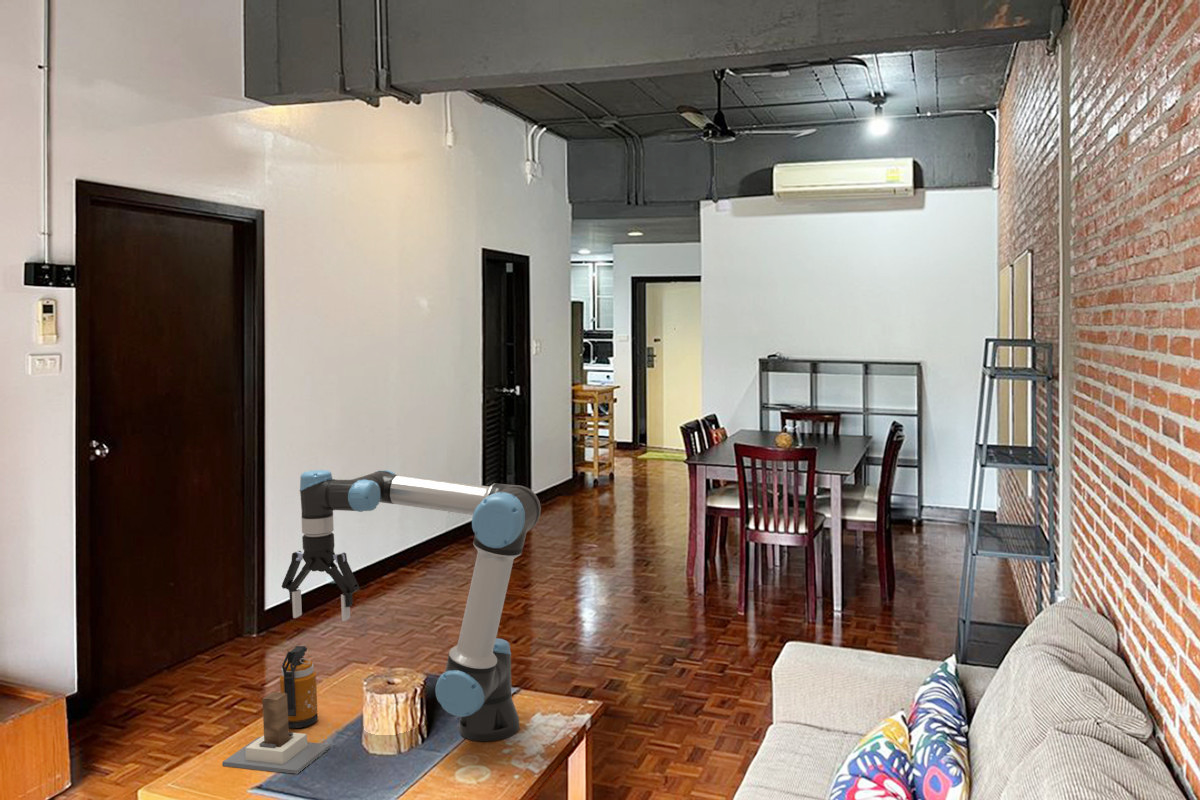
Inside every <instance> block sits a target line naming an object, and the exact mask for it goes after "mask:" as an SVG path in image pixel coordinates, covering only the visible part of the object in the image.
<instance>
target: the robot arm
mask: <svg viewBox="0 0 1200 800" xmlns="http://www.w3.org/2000/svg"><path fill="white" fill-rule="evenodd" d="M299 478H300V481H299V485H300V486H299V492H300V493H299V495H300V506H301V518H300V519H301V533H302V534H303V535H302V541H301V542H302V550H303V552H302V551H301V550H297V551H294V552H293V553H291V562H290V564H289V567H288V569H287V571H286V574H285V577H284V578H283V581H282V583H281V587H282V588H281V589H285V590H288V593H289V594H288V595H289V603H290V604H291V605H292V618H293V619H297V618H299V617H301V616H302V615H303V611H302V607H303V606H302V589H299V588H300V585H301V584H302V583H303V581H304V580H305V578H306V577H308V575H309V573H310V572H317V571H318V572H325V573H326V574H328V575H329V576H330V577H331V579H332V580H333V581H334V583H335V584H336V585H337V586H338V588H339V589H340V590H341V591H342V594H340V603H341V604H340V606H341V607H340V608H341V609H340V610H341V622H347V621H348V620H350V619H351V607H352V606H353V604H354V603H353V594H354V593H355V592H357V591H359V590H360V585H359V583H358V581H357V579H356V577H355V574H354V573H353V570H352V568H351V566H350V564H349V562H348V559H347V558H348V557H347V553H346V552H342V553H337V554H336V553H335V534H334V533H333V531H334V511H345V512H346V511H347V512H360V513H362V512H371V511H374V510H376V509H377V506H378V505H379V504H380V503H383V504H384V503H385V504H391V505H392V504H393V505H400V506H407V507H413V508H421V509H427V510H435V511H440V512H441V511H443V512H448V513H449V512H450V513H454V514H455V513H456V514H464V515H470V516H472V518H471V529H472V531H473V533H474V538H473V542H472V544H473V547H474V548H475V549H476V550H477V554H476V559H475V564H474V568H473V572H472V577H471V582H470V586H469V590H468V594H467V595H468V596H467V599H466V604H465V608H464V609H465V610H464V612H463V613H464V614H463V618H462V622H461V627H460V633H459V637H458V640H457V641H458V642H457V644H456V645H455V646H453V647H451V648H450V650H449V653H448V658H447V659H446V660H447V661H446V665H445V669H444V672H443V673H441V674H440V676H439V677H438V679H437V682H436V684H435V688H434V689H435V697H436V700H437V702H438V703H439V704H440V705H441V707H442V709H443V710H444V711H445V712H447V713H449V714H450V715H452V716H454V717H455V716H456V717H459V718H460V719H459V722H458V723H459V724H458V726H459V727H458V728H459V734H460V735H461V736H462V737H463V738H465V739H467V740H470V741H475V742H495V741H501V740H504V739H507V738H509V737H512V736H514V735H515V734H516V733H517V732H518V731H519V729H520V717H519V715H518V712H517V709H516V706H515V703H514V701H513V697H512V695H513V694H512V658H511V656H512V652H511V646H510V643H509V642H508V641H507V640H505V639H503V638H498V637H497V636H498V631H499V627H500V621H501V618H502V613H503V610H504V609H503V608H504V604H505V600H506V595H507V591H508V587H509V586H508V585H509V582H510V577H511V574H512V569H513V564H514V559H516V558H518V557H520V556H521V555H522V554H523V549H524V545H525V540H526V537H527V532H529V531H530V530H532V529H533V528H534V527H535V526H536V525H537V523H538V521H539V519H540V517H541V513H542V512H541V511H542V509H541V508H542V507H541V502H540V499H539V498H538V496H537V494H535V492H534V491H533V490H532V489H530V488H529V487H526V486H523V485H519V484H518V485H516V484H506V483H493V484H491V485H489V486H488V485H487V486H486V485H480V484H472V483H463V482H458V481H456V482H455V481H450V480H443V479H442V480H441V479H433V478H427V477H419V476H417V477H416V476H409V475H404V474H403V475H402V474H396V473H395V472H394V471H391V470H388V469H385V470H377V471H374V472H373V473H369V474H367V475H363V476H360V477H356V478H353V479H334V478H333V475H332V472H331V471H330V470H324V469H316V470H308V471H304V472H303V473H301V475H300V477H299ZM302 560H303V561H304V563H305V564H304V565H303V567H301V570H300V572H299V573H298V574H297V572H298V570H299V567H300V564H301V562H302ZM336 563H337V564H336ZM338 568H339V569H338ZM296 574H297V576H296ZM295 576H296V577H295Z"/></svg>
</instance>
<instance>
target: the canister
mask: <svg viewBox="0 0 1200 800" xmlns="http://www.w3.org/2000/svg"><path fill="white" fill-rule="evenodd" d="M307 651H308V647H306V646H305V645H296V646H294V648H293V649H292V650H290V651H287V653H286V655H285V658H284V660H283V661H282V665H281V675H280V677H279V689H280V690H279V691H280V692H279V693H287V704H288V727H289V728H292V729H298V728H299V729H300V728H304V727H305V728H306V727H308V726H310V725H312V724H314V723H316V721H318V720H319V719H318V718H319V717H318V715H319V713H318V695H317V694H318V690H317V672H316V671H315V670H314V663H313V662H312V660H310V659H307V658H304V656H306V652H307Z"/></svg>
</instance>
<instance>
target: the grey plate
mask: <svg viewBox="0 0 1200 800" xmlns="http://www.w3.org/2000/svg"><path fill="white" fill-rule="evenodd" d="M329 748H330V749H331V744H328V743H322V742H321V743H318V742H310V741H308V734H307V733H302V732H301V733H300V732H292V731H291V732H290V731H289V741H288V742H287V743H286V744H284V745H283V746H281V747H276V744H268V743H264V734H263V735H262V736H258V737H256V738H255V739H253V740H252V741H250V742H249V743H248V744H246V745H245V746H243V747H242V748H240V749H238V750H237V751H236V752H235V753H233V754H231V755H229V757H227V758H225V759H224V760H223V761H222V763H221V764H222V767H228V768H229V767H230V768H237V769H248V770H253V771H254V770H255V771H265V772H272V773H273V772H274V773H279V772H287V773H286V774H288V773H295V774H294V775H296V774H298V773H299V772H300V771H301V772H302V770H303V769H304V768H305V767H306V768H308V767H309V766H310V765H312V762H313V761H314V760H315V759H316V760H318V759H319V758H320V757H322V756H323V755H324V754H325V753H326V752H327V751H326V750H328V749H329ZM330 749H329V750H330ZM329 750H328V751H329ZM324 752H325V753H324ZM323 753H324V754H323ZM322 754H323V755H322ZM318 757H319V758H318ZM317 758H318V759H317ZM316 760H315V761H316ZM315 761H314V762H315ZM314 762H313V763H314ZM309 764H310V765H309ZM308 765H309V766H308ZM307 766H308V767H307ZM306 768H305V769H306ZM305 769H304V770H305ZM304 770H303V771H304ZM301 772H300V773H301ZM300 773H299V774H300ZM299 774H298V775H299Z"/></svg>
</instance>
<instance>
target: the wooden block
mask: <svg viewBox="0 0 1200 800" xmlns="http://www.w3.org/2000/svg"><path fill="white" fill-rule="evenodd" d="M261 701H262V719H263V720H262V721H263V735H264V743H268V744H276V747H281V746H283V745H284V744H286V743H287V742H288V741H289V732H290V731H289V728H290V727H288V704H287V693H280V692H274V691H272V692H270V693H269V694H267V695H265V696H263V698H261Z"/></svg>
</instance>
